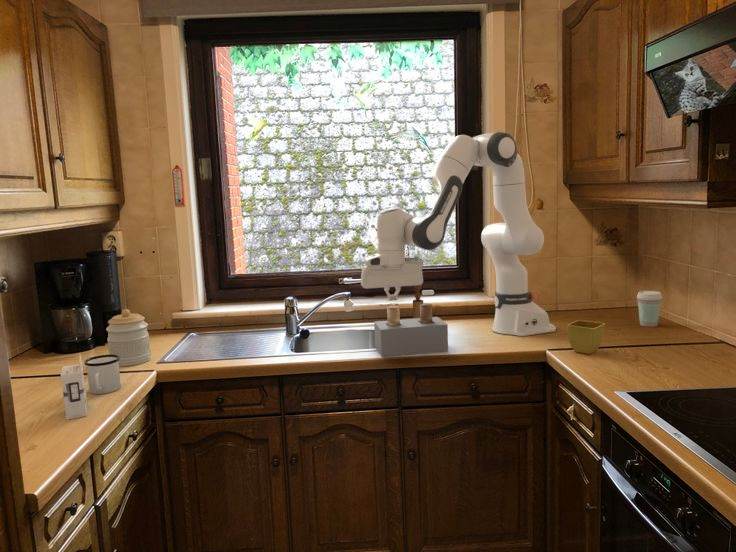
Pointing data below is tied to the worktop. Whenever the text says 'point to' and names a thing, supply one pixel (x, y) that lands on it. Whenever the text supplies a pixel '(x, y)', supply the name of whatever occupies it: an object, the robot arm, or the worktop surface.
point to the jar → (129, 338)
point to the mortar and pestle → (417, 302)
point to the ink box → (74, 391)
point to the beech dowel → (393, 316)
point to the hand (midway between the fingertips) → (392, 300)
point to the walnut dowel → (425, 313)
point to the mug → (103, 374)
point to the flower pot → (585, 335)
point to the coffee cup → (649, 307)
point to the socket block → (411, 337)
